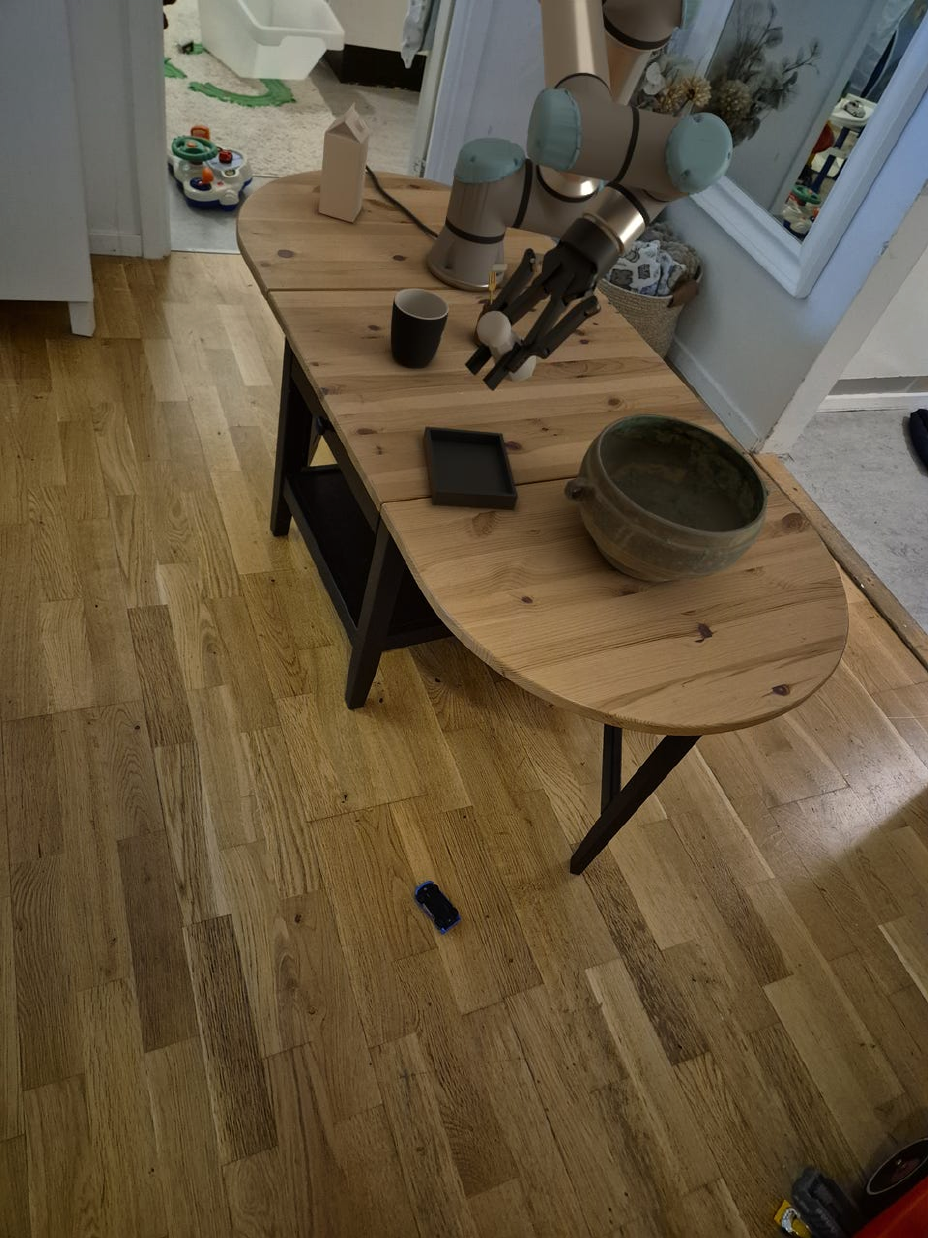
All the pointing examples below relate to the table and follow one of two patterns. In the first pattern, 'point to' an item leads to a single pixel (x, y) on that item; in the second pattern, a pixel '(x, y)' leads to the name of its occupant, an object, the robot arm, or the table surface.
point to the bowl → (668, 498)
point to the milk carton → (344, 166)
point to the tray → (469, 468)
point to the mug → (417, 326)
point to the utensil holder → (486, 303)
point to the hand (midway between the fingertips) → (478, 377)
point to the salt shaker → (503, 342)
